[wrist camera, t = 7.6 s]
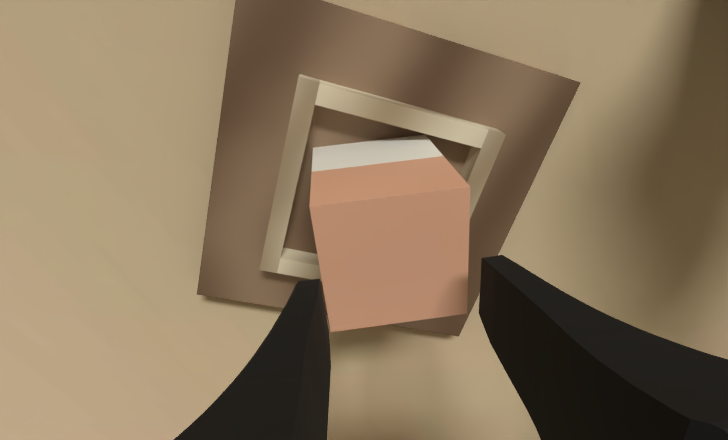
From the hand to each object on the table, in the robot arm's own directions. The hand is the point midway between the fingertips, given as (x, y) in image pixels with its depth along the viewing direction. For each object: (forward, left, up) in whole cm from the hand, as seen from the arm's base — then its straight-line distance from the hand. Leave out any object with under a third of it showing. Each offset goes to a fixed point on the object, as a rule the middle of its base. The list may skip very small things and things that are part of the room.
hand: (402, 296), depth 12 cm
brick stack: (0, 0, -7) cm, 7 cm away
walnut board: (0, 0, -8) cm, 8 cm away
